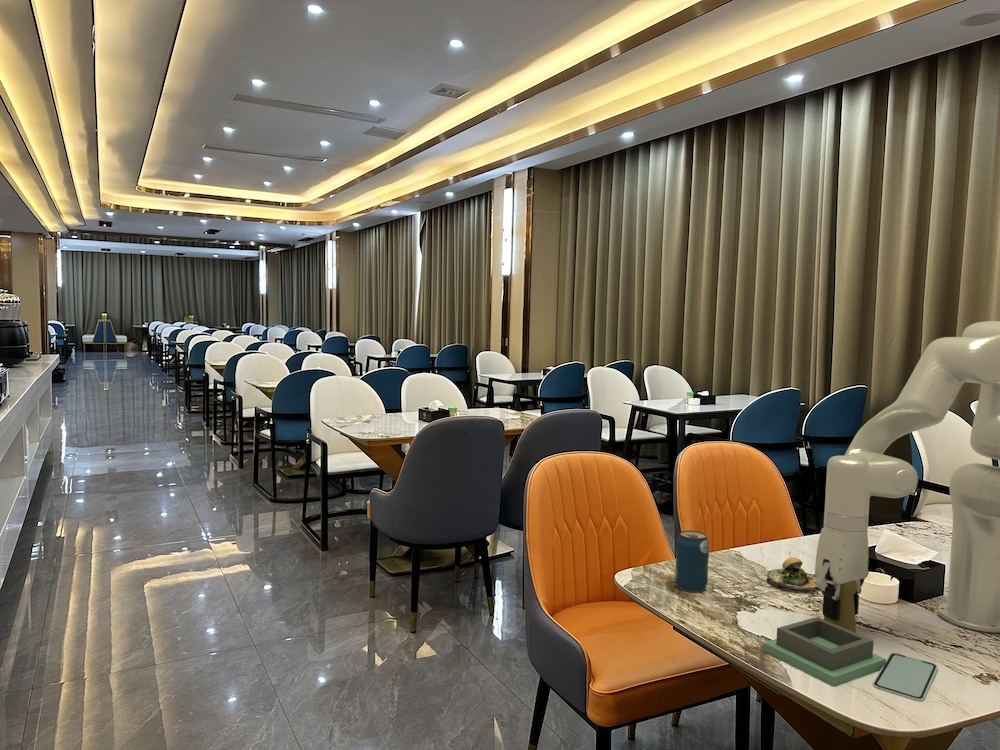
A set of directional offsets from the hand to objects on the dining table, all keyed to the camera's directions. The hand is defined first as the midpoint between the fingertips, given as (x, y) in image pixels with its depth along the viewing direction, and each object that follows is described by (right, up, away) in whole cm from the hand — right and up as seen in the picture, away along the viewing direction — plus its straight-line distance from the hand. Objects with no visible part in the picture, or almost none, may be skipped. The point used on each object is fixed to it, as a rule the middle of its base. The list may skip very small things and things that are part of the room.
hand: (840, 614), depth 136 cm
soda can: (-23, -2, +22) cm, 32 cm away
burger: (+2, -2, +25) cm, 26 cm away
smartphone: (+3, -5, -17) cm, 18 cm away
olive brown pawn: (0, -4, 0) cm, 4 cm away
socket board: (-8, -4, -11) cm, 15 cm away
